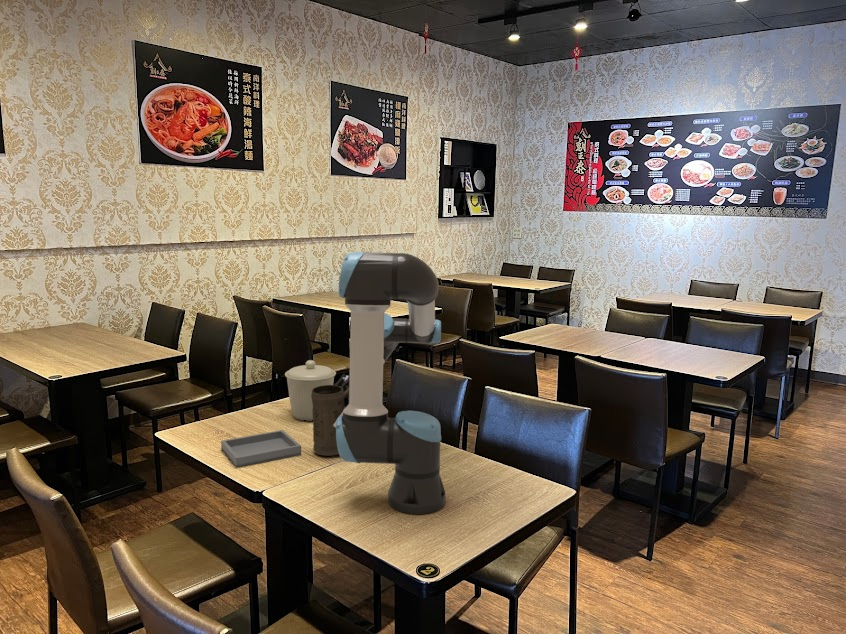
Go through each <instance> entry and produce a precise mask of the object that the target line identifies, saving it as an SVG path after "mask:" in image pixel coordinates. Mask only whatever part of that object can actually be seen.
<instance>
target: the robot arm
mask: <svg viewBox="0 0 846 634" xmlns="http://www.w3.org/2000/svg"><path fill="white" fill-rule="evenodd" d="M341 264H342V265H341V268H340V274H339V279H338V280H339V281H338V295H339V297H340V298H342V299H344V306H346V308H347V309H348V310H349V311H350V335H349V336H350V339H349V342H350V346H349V374H348V375H347V374H345V373H343V374H342V375H341V376H340V378H339V379H338V380H337V382H335V383H333V385H337V386H340V387H342V388H343V391H346V390H347V388H349V399H348V404H347V405H346V406H345V409H344V410H343V412H342V413H341V415H340V416H339V417H338V419H337V420H336V422H335V423H334V425H333V426H334V427H335V428H336V440H337V448H338V452H339V454H338V455H339V456H340V458H341V460H343V461H344V462H346V463H348V462H349V463H356V464H364V463H365V464H387V465H388V464H389V465H390V464H391V465H393V464H394V465H395V467H394V474H393V478H392V479H391V483H390V486H389V489H388V492H387V502H388V505H389V506H390V507H391V508H392V509H393V510H396V511H398V512H401V513H405V514H410V515H425V514H431V513H434V512H435V513H436V512H437V511H439V510H441V509H443V507H444V506H445V505H446V498H447V497H446V491H445V486H444V484H443V481H442V478H441V472H440V471H441V466H440V465H441V441H442V435H441V432H442V431H441V423H440V422H439V420H438V418H436V417H434V416H432V415H431V414H429V413H427V412H426V413H425V412H423V411H417V410H402V411H399V412H397V414H396V415H395V417H389V410H388V409H387V408H386V407H385V405H384V404H383V388H384V385H383V384H384V365H385V363H386V362H387V360H388V358H389V357H390V356H391V355H392V353H393V351H395V349H396V347H397V346H398V345H399V344H400V343H401V344H402V343H403V344H406V343H407V344H429V345H431V344H439V343H440V342H441V340H442V339H441V338H442V337H441V336H442V321H441V320H439V319H436V303H435V302H436V301H435V300H436V298H437V297H438V296H439V295H438V294H439V290H440V289H439V284H440V283H439V280H438V277H437V274H436V273H435V272H434V271H433V269H432V268H431V267H430V266H429V264H427V263H426V262H425V261H424V260H422V259H421V258H419V257H417V256H415V255H412V254H409V253H403V252H398V253H396V252H395V253H394V252H374V251H373V252H371V251H370V252H369V251H361V252H360V251H359V252H357V251H356V252H350V253H348V254H346V255H345V257H344V259H343V261H342V263H341ZM394 299H395V300H399V299H401V300H406V301H407V307H408V309H407V310H408V318H399V317H398V318H395V317H394V318H393V317H392V316H391V315H390V314H388V313H386V311H387V310H388V309H389V308H390V307H391V304H392V303H391V301H392V300H394Z"/></svg>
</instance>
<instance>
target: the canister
mask: <svg viewBox="0 0 846 634" xmlns="http://www.w3.org/2000/svg"><path fill="white" fill-rule="evenodd" d="M336 375H337V372H336V371H335V370H334V369H332V368H331V367H330V366H326V365H320V364H316V361H314V360H312V359H309V360H307V361H306V362H305V365H304V364H303V365H298V366H294V367H292V368H290V369H289V370H287V371H286V372H285V373H284V376H285V378H286V382H287V389H288V396H289V397H288V399H289V403H290V411H291V413H292V415H293V417H294V418H295V419H296V420H300V421H304V420H306V421H305V422H313V421H312V420H313V415H312V410H313V404H312V398H311V394H312V390H313V389H314V388H315V387H318V386H324V385H334V382H335V381H334V379H335V377H336Z"/></svg>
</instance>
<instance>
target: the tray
mask: <svg viewBox="0 0 846 634" xmlns="http://www.w3.org/2000/svg"><path fill="white" fill-rule="evenodd" d="M220 443H221V444H220V447H221V448H220V449H221V451H222V453H223V454H224V453H225V454H224V455H225V456H226V458H228V460H229V461H230V462H231V464H233V466H234V468H236V469H238V468H237V467H239V468H243V466H244V467H248V465H249V466H252V465H258V464H262V463H268V462H273V460H274V461H278V459H279V460H282V459H283V458H284V459H287V458H292V457H299V456H302V445H301V444H300V443H299V442H298V441H296V440H295V439H294V438H293V437H292V436H291V435H290V434H288V433H287V432H286V431H285V430H284V429H279V430H274V431H267V432H264V433H257V434H252V435H246V436H241V437H235V438H229V439H223V440H220Z"/></svg>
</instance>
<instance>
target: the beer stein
mask: <svg viewBox="0 0 846 634" xmlns="http://www.w3.org/2000/svg"><path fill="white" fill-rule="evenodd" d="M311 398H312V404H313V410H312V415H313V421H312V433H313V434H312V435H313V436H312V437H313V440H312V441H313V451H314V453H315V454H317V455H320V456H326V457H328V456H329V457H330V456H337V455H339V452H338V448H337V440H336V428H335V427H334V426H333V425H334V423H335V422H336V420H337V419H338V417H339V416H340V415H341V413H342V412H343V410H344V409H345V408H346V406H345V398H347V400H349V388H347V390H346V391H343V388H342V387H340V386H337V385H334V384H333V385H324V386H318V387H315V388H314V389H313V390H312V394H311Z"/></svg>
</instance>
